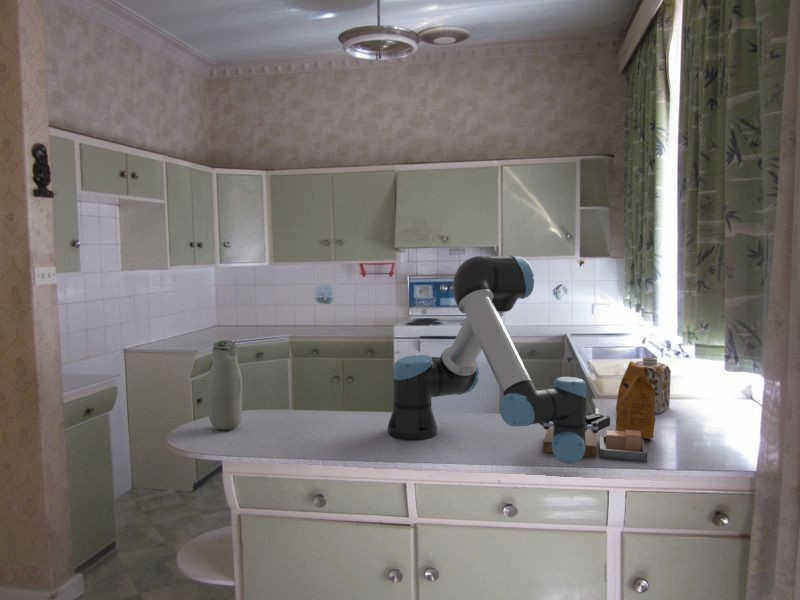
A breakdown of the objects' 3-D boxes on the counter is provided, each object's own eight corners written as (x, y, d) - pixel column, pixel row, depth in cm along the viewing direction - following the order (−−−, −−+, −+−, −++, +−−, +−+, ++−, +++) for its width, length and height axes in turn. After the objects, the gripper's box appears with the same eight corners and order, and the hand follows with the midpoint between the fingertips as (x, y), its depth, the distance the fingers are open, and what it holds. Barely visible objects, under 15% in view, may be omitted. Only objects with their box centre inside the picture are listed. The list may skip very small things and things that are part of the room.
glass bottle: (205, 433, 195) (203, 343, 193) (216, 424, 206) (213, 338, 203) (237, 433, 195) (235, 343, 193) (246, 424, 205) (244, 338, 203)
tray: (599, 457, 174) (600, 449, 174) (599, 442, 187) (599, 434, 187) (647, 461, 170) (647, 453, 170) (643, 445, 184) (643, 438, 184)
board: (543, 452, 178) (543, 441, 178) (547, 437, 192) (547, 427, 191) (596, 456, 174) (596, 446, 174) (595, 441, 187) (596, 431, 187)
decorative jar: (626, 409, 225) (627, 358, 224) (636, 402, 234) (638, 354, 233) (661, 414, 218) (663, 362, 216) (670, 407, 227) (672, 357, 226)
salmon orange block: (625, 434, 176) (641, 435, 175) (625, 429, 181) (640, 430, 179) (625, 452, 176) (640, 453, 175) (624, 446, 181) (639, 448, 180)
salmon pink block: (606, 448, 179) (606, 434, 179) (606, 443, 184) (606, 429, 184) (625, 450, 178) (625, 436, 177) (624, 445, 183) (624, 431, 182)
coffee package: (643, 429, 200) (645, 360, 198) (657, 442, 187) (660, 368, 186) (611, 429, 200) (613, 360, 198) (623, 441, 188) (625, 367, 186)
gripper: (520, 441, 166) (527, 420, 187) (621, 450, 159) (617, 427, 180) (520, 413, 166) (527, 395, 186) (622, 421, 159) (618, 401, 179)
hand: (571, 411), depth 183 cm, fingers open, 13 cm apart
